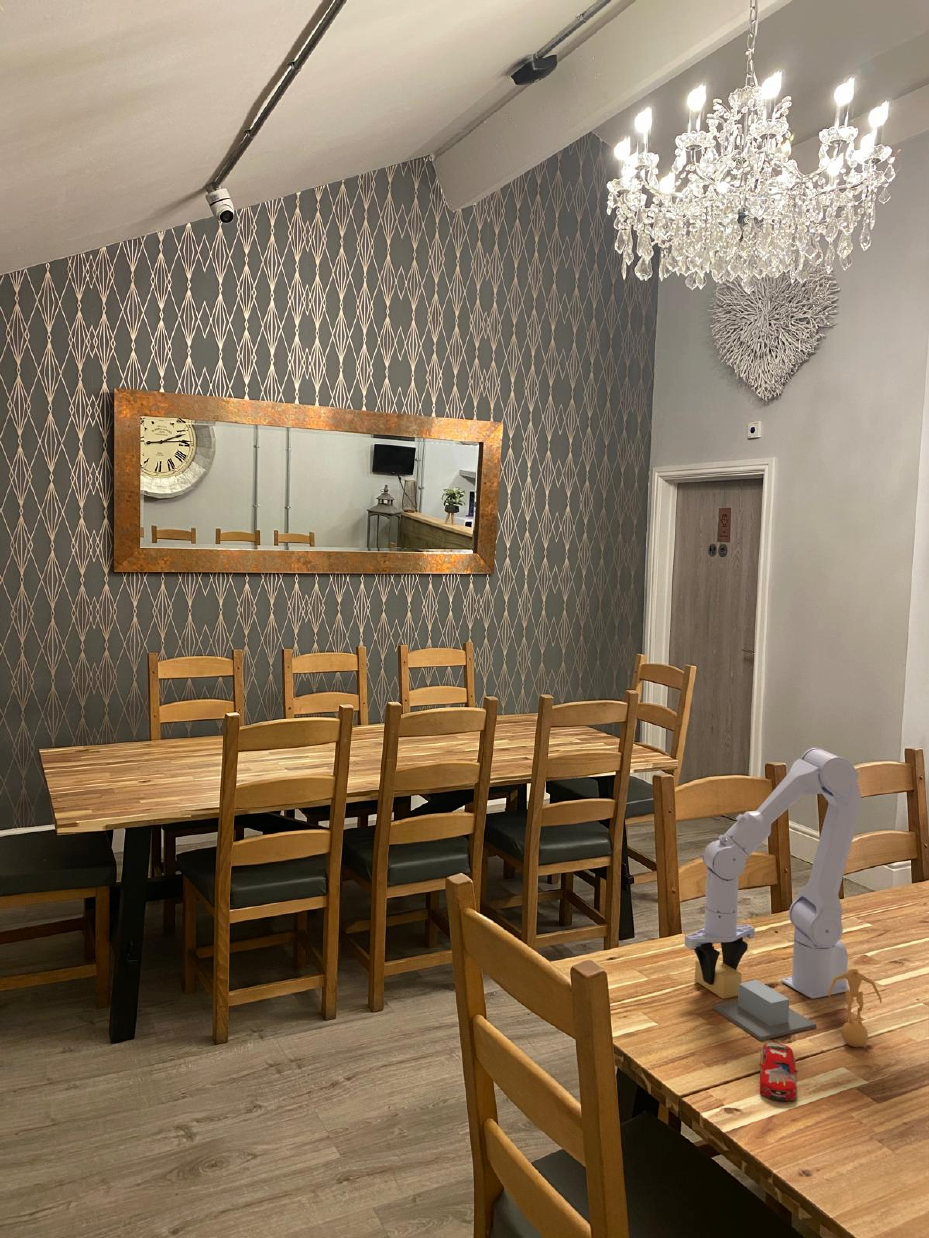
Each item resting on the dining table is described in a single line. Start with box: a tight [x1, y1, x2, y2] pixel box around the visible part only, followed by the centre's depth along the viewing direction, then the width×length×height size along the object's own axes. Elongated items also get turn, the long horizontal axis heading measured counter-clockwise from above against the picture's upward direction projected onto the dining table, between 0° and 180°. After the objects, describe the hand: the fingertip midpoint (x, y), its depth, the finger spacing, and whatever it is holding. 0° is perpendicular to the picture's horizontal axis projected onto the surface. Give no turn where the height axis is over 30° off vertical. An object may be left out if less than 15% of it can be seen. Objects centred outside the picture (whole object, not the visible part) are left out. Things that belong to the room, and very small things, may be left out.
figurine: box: [828, 968, 882, 1048], centre depth 155 cm, size 8×6×12 cm
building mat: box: [712, 999, 817, 1041], centre depth 163 cm, size 12×12×1 cm
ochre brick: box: [694, 958, 743, 1000], centre depth 174 cm, size 4×8×4 cm, turn 24°
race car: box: [758, 1042, 798, 1102], centre depth 143 cm, size 13×5×4 cm, turn 161°
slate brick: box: [737, 979, 790, 1026], centre depth 163 cm, size 4×8×4 cm, turn 25°
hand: (718, 980), depth 174 cm, fingers closed on ochre brick, 4 cm apart
